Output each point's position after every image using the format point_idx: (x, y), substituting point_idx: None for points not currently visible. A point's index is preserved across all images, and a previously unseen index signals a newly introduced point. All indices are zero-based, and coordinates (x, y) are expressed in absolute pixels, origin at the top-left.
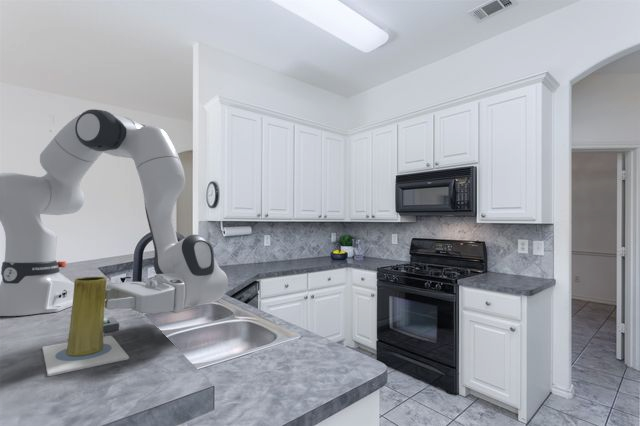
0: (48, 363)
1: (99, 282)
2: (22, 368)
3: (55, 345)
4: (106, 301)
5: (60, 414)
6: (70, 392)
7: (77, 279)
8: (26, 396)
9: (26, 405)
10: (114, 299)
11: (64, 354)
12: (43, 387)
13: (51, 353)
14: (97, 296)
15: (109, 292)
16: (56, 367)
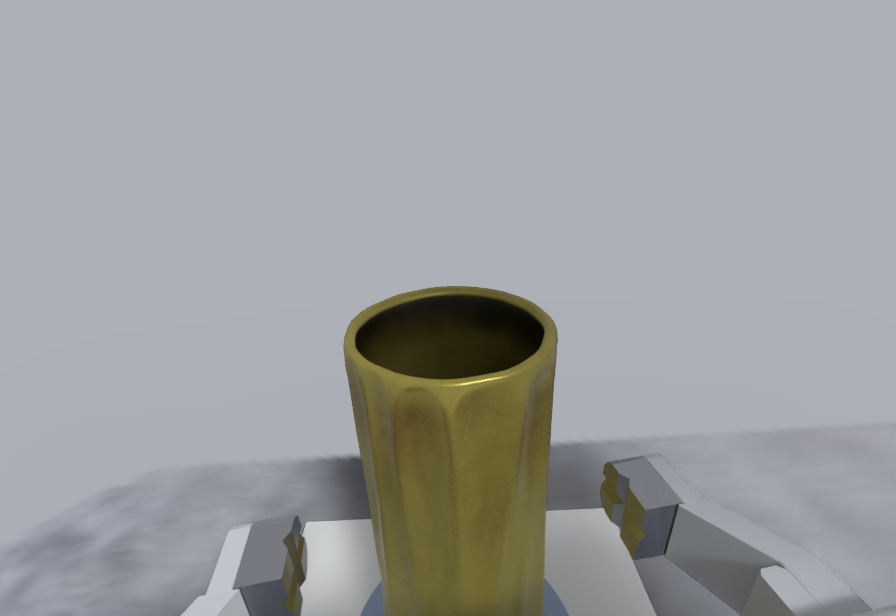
0: None
1: (352, 372)
2: None
3: (613, 544)
4: (268, 520)
5: (22, 550)
6: (119, 577)
7: (481, 295)
8: (220, 491)
9: (168, 493)
10: (225, 563)
11: None
12: (237, 519)
13: None
14: (367, 457)
15: (767, 610)
16: (346, 542)
